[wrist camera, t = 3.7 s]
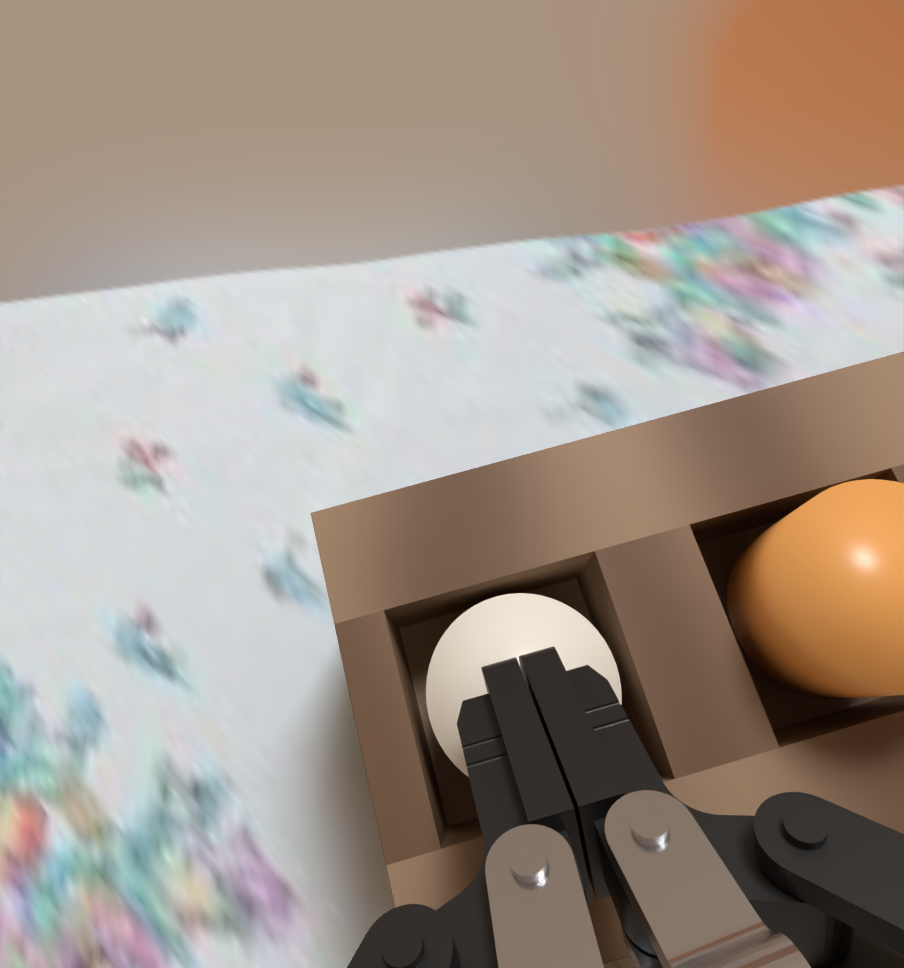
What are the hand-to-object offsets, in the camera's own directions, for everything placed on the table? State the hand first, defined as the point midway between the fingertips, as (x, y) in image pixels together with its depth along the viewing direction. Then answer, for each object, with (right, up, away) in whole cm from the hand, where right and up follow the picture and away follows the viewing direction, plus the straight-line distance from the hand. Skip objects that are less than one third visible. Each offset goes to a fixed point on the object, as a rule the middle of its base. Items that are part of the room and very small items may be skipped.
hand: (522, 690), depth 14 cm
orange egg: (+7, +1, +2) cm, 7 cm away
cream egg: (0, -1, +3) cm, 4 cm away
